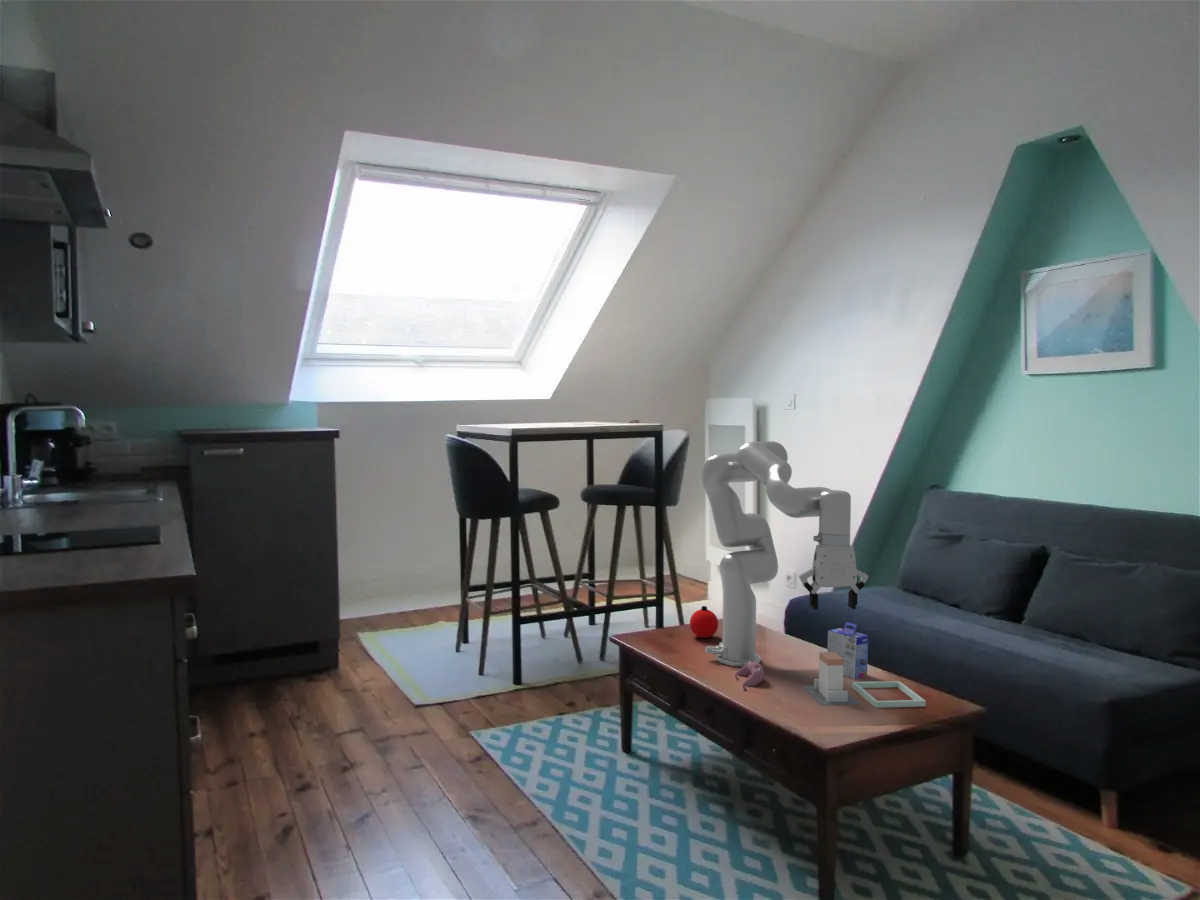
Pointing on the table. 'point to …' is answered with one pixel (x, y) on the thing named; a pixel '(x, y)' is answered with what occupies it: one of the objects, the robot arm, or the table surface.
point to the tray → (915, 702)
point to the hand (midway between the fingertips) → (833, 608)
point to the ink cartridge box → (850, 649)
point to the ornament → (704, 623)
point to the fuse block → (830, 696)
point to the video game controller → (751, 674)
